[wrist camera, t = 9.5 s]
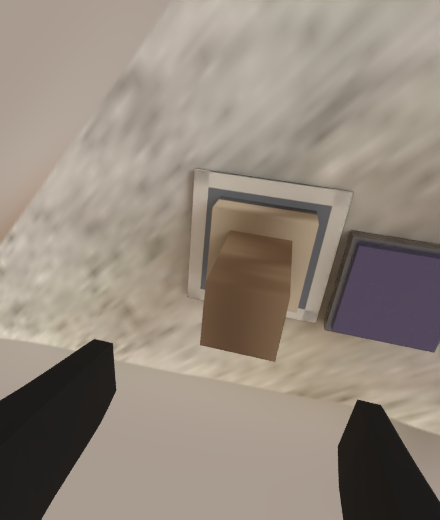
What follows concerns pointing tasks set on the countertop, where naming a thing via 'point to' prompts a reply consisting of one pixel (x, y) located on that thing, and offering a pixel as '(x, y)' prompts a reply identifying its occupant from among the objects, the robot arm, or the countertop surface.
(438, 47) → the countertop surface
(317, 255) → the print mark
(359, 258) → the ink pad
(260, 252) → the stamp
